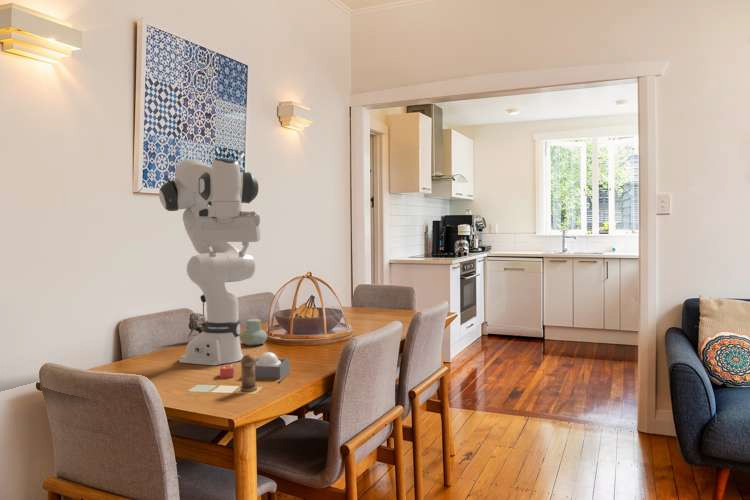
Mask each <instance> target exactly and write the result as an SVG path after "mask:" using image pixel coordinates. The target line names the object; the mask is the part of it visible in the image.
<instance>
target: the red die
mask: <svg viewBox="0 0 750 500" xmlns="http://www.w3.org/2000/svg"><path fill="white" fill-rule="evenodd" d="M235 367H236V366H235V365H232V364H231V365H221V366H220V369H219V376H220V377H219V378H220V379H223V378H225V379H226V378H228V379H229V378H234V377H235V374H236V373H235V372H236V370H235V369H236V368H235Z"/></svg>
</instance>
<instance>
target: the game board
mask: <svg viewBox="0 0 750 500" xmlns="http://www.w3.org/2000/svg"><path fill="white" fill-rule="evenodd" d="M262 388H263V386H257V390H256V391H253V392H242V391H241V385H221V384H220V385H219V386H218V385H214V384H196V385H195V386H193V387H191V388H190V389H188V390H187V392H189V393H190V392H192V393H193V392H194V393H209V392H210V393H218V394H219V393H220V394H221V393H222V394H232V393H234V394H243V395H244V394H247V395H248V394H249V395H255V394H257V393H258V392H260V391H261V389H262Z"/></svg>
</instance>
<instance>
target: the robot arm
mask: <svg viewBox="0 0 750 500" xmlns="http://www.w3.org/2000/svg"><path fill="white" fill-rule="evenodd" d="M174 175H175V179H172V180H170V179H168V180H167V182H166V183H164V184H163V185H162V186H161V187H160V189H159V200H160V201H159V202H160V204H161V205H162V206H163V207H164V209H165V210H166V211H167V212H178V210H184V212H183V213H182V222H183V225H184V228H185V232H186V233H187V236H188V237H189V239H190V242H191V243H192V246H193V248H194V249H195V251H196V253H198V254H197V255H193V256H192V257H191V258H189V260H188V262H187V263H186V264H187V265H186V274H187V276H188V278H189V279H190V281H192V283H194V284H196V285H197V286H198V287H199V289H200V290H201V291H202V295H203V294H204V296H205V299H206V302H205V304H206V321H205V322H204V323H203V324H201V325H202V326H201V327H200V328H202V327H203V331H202V332H201V333H200V334H199V333H198V334H197V335H196V336H195V337H194V338H192V339H191V340H190V341H189V342H188V343H187V345H186V349H185V354H184V355H182V356H180V357H179V359H178V362H179V363H180V364H181V363H182V364H192V365H194V364H195V365H203V366H205V365H206V366H217V365H223V364H230V363H231V364H232V363H236V362H238V361H240V362H241V359H242V358H243V357H244V354H243V351H242V350H243V349H242V346H241V340H240V336H241V324H240V323H241V322H240V321H241V320H240V319H239V300H238V298H237V297H236V295H235V294H232V292H231V293H230V292H228V290H227V289H226V285H225V284H226V283H237V282H242V281H245V280H248V279H251V278H252V277H253V276H254V274H255V272H256V261H255V259H254V257H253V256H252V255H251V254H250V253H248V252H246V251H247V249H248V247H249V246H250V243H257V242H260V240H261V230H260V223H261V219H260V218H261V217H260V215H259V213H257V212H255V211H242V204H251V202H253V200H255V199H256V197H257V196H258V194H259V182H258V180H257V178H256V176H254V175H253V174H252V173H251V172H249V171H248V172H241V168H240V164H239V162H238V160H236V159H231V158H224V157H223V158H221V157H220V158H215V159H213V160H212V164H211V165H210V164H208V163H205V162H203V161H200V160H197V159H184V160H181V161H180V162H179V163H178V164H176V167H175V168H174ZM232 243H241V246H242V249H240V248H238V247H236V246H235V245H233V244H232Z"/></svg>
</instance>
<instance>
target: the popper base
mask: <svg viewBox="0 0 750 500" xmlns="http://www.w3.org/2000/svg"><path fill="white" fill-rule="evenodd" d="M277 358H278V360H279V361H281V364H280V365H279V366H256V365H255V379H263V380H264V379H265V380H266V379H267V380H269V379H270V380H279V381H278V382H277V384H281V383H282V382H283V381H284V380H285V379H286V378H287V377H288V376H289V375H291V370H290V369H291V363H290V362H291V360H290V358H282V357H281V358H279V357H277ZM258 360H259V357H256V358H255V363H256V362H257V361H258Z"/></svg>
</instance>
